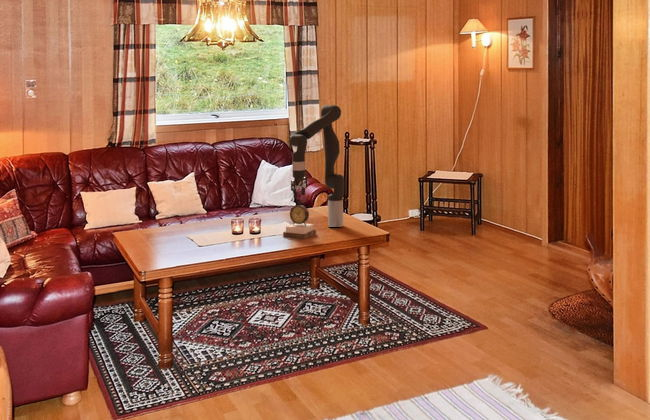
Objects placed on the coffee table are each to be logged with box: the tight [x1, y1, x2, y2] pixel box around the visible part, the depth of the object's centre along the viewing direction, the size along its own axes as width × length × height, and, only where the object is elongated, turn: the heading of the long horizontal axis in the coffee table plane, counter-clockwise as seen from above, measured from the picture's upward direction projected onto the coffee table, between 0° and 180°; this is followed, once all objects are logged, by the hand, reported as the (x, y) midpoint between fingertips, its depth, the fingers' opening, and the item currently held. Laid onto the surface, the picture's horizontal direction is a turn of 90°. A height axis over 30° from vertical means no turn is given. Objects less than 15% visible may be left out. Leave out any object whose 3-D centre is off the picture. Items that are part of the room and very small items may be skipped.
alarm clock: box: [289, 197, 310, 226], centre depth 419 cm, size 11×5×16 cm, turn 63°
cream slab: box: [285, 222, 315, 234], centre depth 421 cm, size 12×12×4 cm
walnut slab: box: [282, 229, 317, 240], centre depth 421 cm, size 14×14×4 cm
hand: (299, 196), depth 417 cm, fingers open, 8 cm apart
